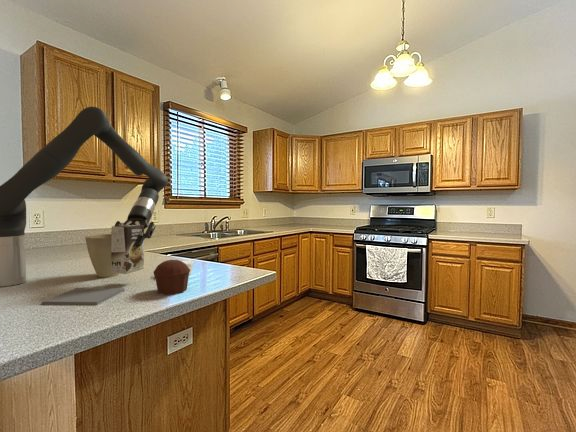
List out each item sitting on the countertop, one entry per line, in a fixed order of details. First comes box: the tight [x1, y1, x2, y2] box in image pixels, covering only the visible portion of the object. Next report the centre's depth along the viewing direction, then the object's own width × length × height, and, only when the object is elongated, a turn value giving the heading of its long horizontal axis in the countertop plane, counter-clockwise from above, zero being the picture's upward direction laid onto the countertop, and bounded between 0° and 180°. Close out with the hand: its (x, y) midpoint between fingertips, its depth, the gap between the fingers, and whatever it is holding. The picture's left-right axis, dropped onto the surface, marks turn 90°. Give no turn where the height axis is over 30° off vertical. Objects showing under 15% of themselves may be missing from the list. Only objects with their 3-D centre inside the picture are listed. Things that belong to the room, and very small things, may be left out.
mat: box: [40, 287, 125, 306], centre depth 94 cm, size 16×14×1 cm
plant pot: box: [84, 233, 120, 278], centre depth 122 cm, size 15×15×16 cm
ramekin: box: [178, 259, 194, 276], centre depth 123 cm, size 11×11×5 cm
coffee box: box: [110, 225, 145, 275], centre depth 107 cm, size 9×6×16 cm
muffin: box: [153, 259, 190, 296], centre depth 100 cm, size 12×11×10 cm
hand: (125, 246), depth 106 cm, fingers closed on coffee box, 7 cm apart
